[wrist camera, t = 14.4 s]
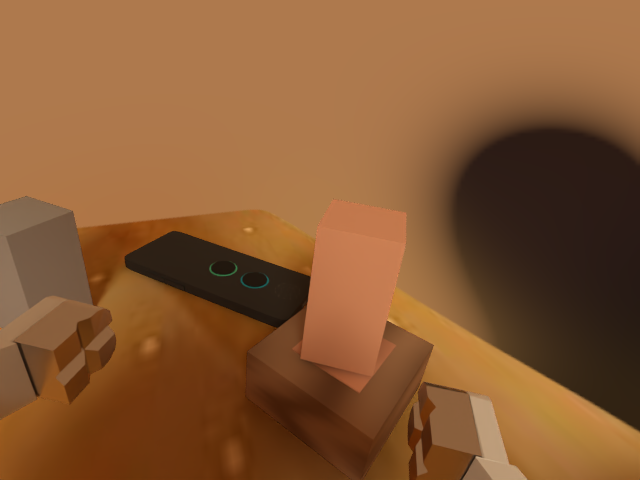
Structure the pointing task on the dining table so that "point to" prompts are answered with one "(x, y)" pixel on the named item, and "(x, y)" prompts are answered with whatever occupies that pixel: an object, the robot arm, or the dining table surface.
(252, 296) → the smart home device
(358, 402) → the walnut base block
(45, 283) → the grey block
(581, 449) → the dining table surface
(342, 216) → the terracotta block
